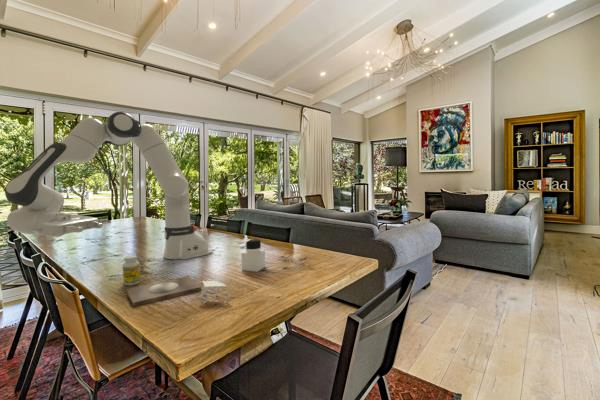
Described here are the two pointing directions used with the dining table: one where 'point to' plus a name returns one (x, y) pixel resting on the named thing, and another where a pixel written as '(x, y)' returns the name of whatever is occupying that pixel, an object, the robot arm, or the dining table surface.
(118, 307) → the dining table surface
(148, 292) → the walnut board
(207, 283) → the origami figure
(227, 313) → the dining table surface
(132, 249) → the dining table surface
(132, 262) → the supplement bottle
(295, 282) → the dining table surface
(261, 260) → the medicine bottle
